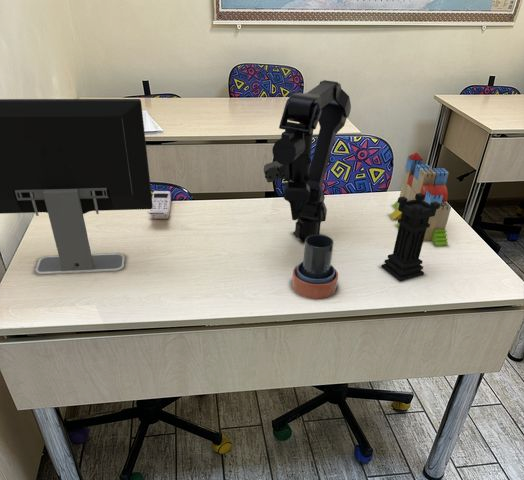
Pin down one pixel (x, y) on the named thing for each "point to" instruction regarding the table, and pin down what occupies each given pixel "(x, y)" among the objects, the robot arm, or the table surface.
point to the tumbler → (317, 256)
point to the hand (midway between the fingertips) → (294, 212)
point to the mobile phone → (160, 204)
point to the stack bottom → (314, 287)
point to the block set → (426, 195)
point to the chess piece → (410, 237)
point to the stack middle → (315, 281)
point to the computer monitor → (73, 170)
